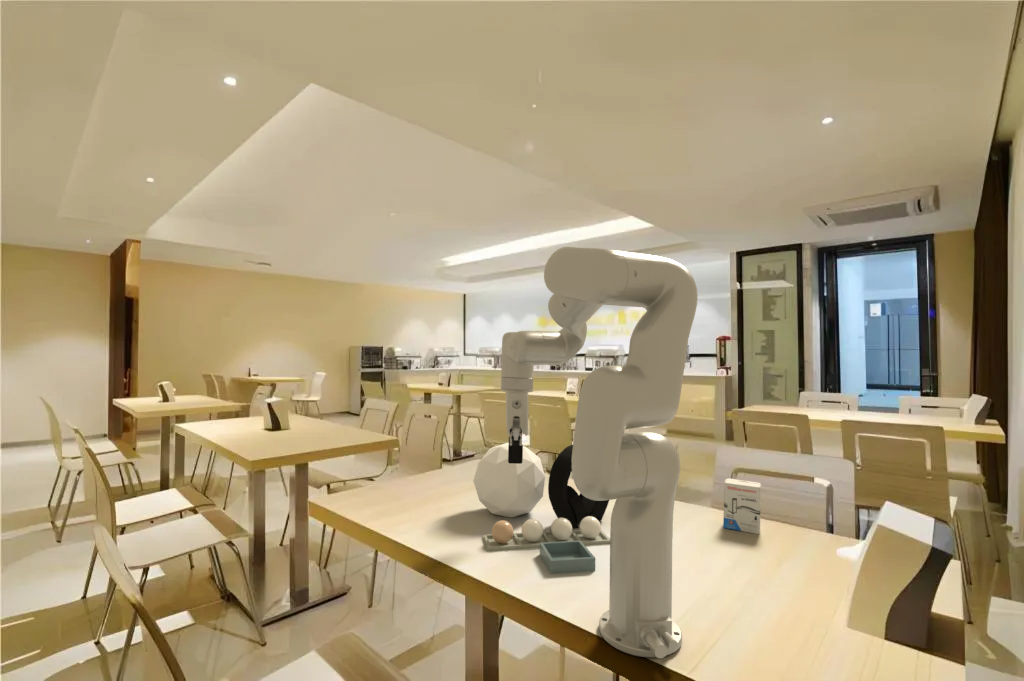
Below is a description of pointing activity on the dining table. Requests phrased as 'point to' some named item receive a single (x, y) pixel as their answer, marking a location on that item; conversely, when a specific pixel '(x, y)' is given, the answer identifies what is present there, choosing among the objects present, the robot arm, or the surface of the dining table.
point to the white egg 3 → (590, 527)
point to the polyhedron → (509, 482)
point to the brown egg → (502, 532)
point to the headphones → (570, 493)
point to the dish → (567, 557)
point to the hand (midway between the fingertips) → (515, 458)
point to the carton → (541, 541)
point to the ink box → (742, 505)
